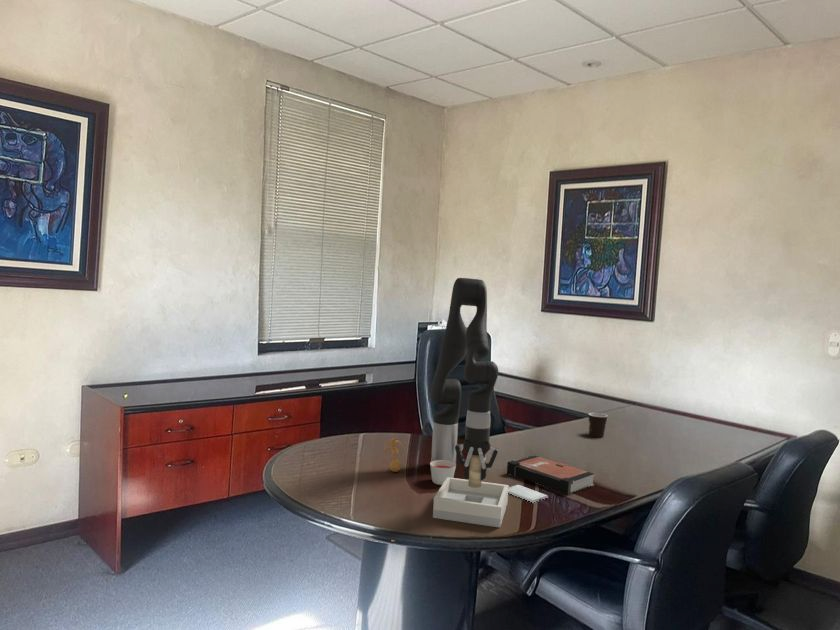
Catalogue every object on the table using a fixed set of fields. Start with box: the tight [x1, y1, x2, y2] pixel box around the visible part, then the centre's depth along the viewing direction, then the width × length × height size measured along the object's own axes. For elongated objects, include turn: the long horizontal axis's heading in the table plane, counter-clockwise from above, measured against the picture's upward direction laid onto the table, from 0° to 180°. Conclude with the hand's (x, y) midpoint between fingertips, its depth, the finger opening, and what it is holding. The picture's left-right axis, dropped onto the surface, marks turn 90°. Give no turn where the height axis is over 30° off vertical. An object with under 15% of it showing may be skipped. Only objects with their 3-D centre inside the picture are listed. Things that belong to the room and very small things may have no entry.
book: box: [506, 455, 596, 495], centre depth 227 cm, size 26×18×5 cm
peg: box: [467, 455, 482, 488], centre depth 195 cm, size 4×4×10 cm
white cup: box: [429, 460, 457, 486], centre depth 218 cm, size 9×9×6 cm
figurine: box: [383, 437, 406, 473], centre depth 227 cm, size 8×6×12 cm
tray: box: [432, 477, 510, 528], centre depth 193 cm, size 20×20×6 cm
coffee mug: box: [587, 412, 608, 439], centre depth 294 cm, size 12×9×10 cm
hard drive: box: [508, 484, 549, 504], centre depth 209 cm, size 2×8×12 cm
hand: (474, 478), depth 195 cm, fingers closed on peg, 4 cm apart
